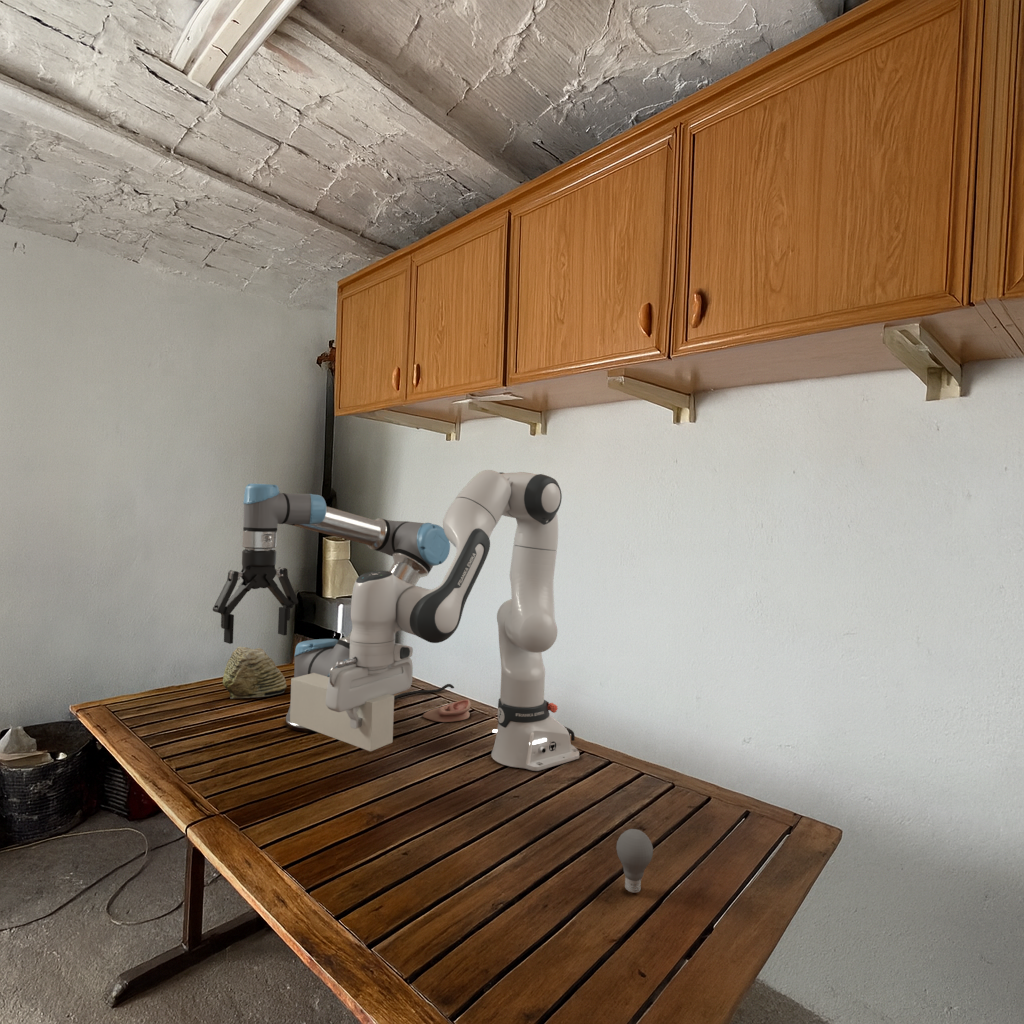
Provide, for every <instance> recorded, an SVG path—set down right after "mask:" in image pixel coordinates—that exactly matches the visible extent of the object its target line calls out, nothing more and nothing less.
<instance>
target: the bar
mask: <svg viewBox="0 0 1024 1024" xmlns="http://www.w3.org/2000/svg"><path fill="white" fill-rule="evenodd" d="M328 680H329V677H327V676H323V675H320V674H316V673H311V674H307V675H303V676H299V677H295V678H294V677H291V679H290V683H291V684H290V704H289V707H290V722H291V723H294V724H297V725H300V726H302V727H305V728H308V729H311V730H313V731H316V732H315V733H319V734H322V735H324V736H327V737H330V738H331V739H335V740H338V741H341V742H344V743H345V744H346V743H347V744H349V745H351V746H355V747H357V748H360V749H362V750H366V751H367V752H373V751H375V750H378V749H380V748H382V747H385V746H388V745H390V744H392V743H393V741H394V717H395V715H394V714H395V712H394V711H395V700H394V696H395V695H394V696H393V695H390V694H386V695H383V696H380V697H377V698H374V699H371V700H368V701H366V703H365V704H364V705H360V706H359V711H357V712H356V713H357V715H358V717H360V718H362V726H361V727H359V728H356V729H354V728H351V726H350V717H349V716H348V714H347V712H346V710H345V711H342V712H336V711H332V710H330V709H328V707H327V706H326V693H327V686H328Z"/></svg>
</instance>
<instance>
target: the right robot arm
mask: <svg viewBox="0 0 1024 1024" xmlns="http://www.w3.org/2000/svg"><path fill="white" fill-rule="evenodd" d="M562 496H563V495H562V491H561V487H560V485H559V483H558V481H557V480H556V479H555V478H553V477H551V476H550V475H545V474H544V473H541V474H540V473H538V474H536V473H533V472H524V471H517V472H498V471H496V470H493V469H484V470H481V471H479V472H478V473H476V474H475V475H474V476H473V477H472V478H471V479H470V480H469V481H468V483H467V484H465V486H464V487H463V488H462V489H461V490H460V492H458V494H457V496H456V497H455V498H454V499H453V502H452V503H451V504H450V505H449V506H448V508H447V510H446V512H445V514H444V517H443V519H442V528H443V529H444V532H445V535H446V537H447V538H448V540H449V543H450V544H452V545H453V546H454V547H455V548H456V553H455V555H454V558H453V560H452V562H451V564H450V566H449V568H448V569H447V572H446V573H445V575H444V577H443V580H442V581H441V582H440V584H439V585H438V586H436V587H433V588H432V589H430V588H426V587H422V586H418V585H415V586H414V585H412V584H409V583H406V582H404V581H402V580H400V579H399V578H397V577H396V576H394V574H393V573H392V572H389V570H373V571H368V572H364V573H363V574H361V575H359V576H358V577H357V578H356V580H355V581H354V584H353V588H352V592H351V593H352V594H351V602H350V621H351V626H352V627H351V630H352V632H351V631H350V632H351V635H350V654H349V659H347V660H344V661H338V662H336V665H334V666H333V667H332V669H331V670H330V675H329V680H328V686H327V693H326V706H327V707H328V709H330V710H332V711H336V712H342V711H345V710H346V712H347V714H348V716H349V717H350V726H351V728H354V729H356V728H359V727H361V726H362V718H360V717H358V715H357V713H356V712H357V711H359V706H360V705H364V704H365V703H366V701H368V700H371V699H374V698H377V697H380V696H383V695H386V694H390V695H393V696H395V695H398V694H401V693H404V692H405V691H408V690H410V688H411V686H412V685H413V675H414V673H413V668H414V667H413V666H414V664H413V659H412V658H411V657H412V656H413V653H414V649H413V647H412V646H410V645H406V644H403V643H399V642H396V634H397V632H400V631H402V632H404V633H407V634H410V635H414V636H415V637H418V638H420V639H422V640H424V641H426V642H428V643H431V644H439V643H442V642H445V641H446V640H448V639H449V638H451V636H453V634H455V632H456V631H457V629H458V627H459V625H460V622H461V619H462V617H463V611H464V608H465V605H466V602H467V600H468V597H469V596H470V594H471V591H472V589H473V587H474V585H475V584H476V582H477V579H478V577H479V576H480V573H481V571H482V569H483V566H484V564H485V562H486V560H487V558H488V556H489V552H490V548H491V540H490V537H491V535H492V533H493V531H494V530H495V528H496V526H497V525H498V523H499V522H500V520H501V518H502V516H503V517H506V518H507V517H508V518H513V519H515V520H516V523H517V525H516V529H515V533H514V538H513V546H512V553H511V560H510V561H511V562H510V569H509V580H510V590H511V593H510V595H511V599H510V598H509V599H507V600H505V601H504V602H502V604H501V605H500V606H499V607H498V610H497V613H496V622H497V629H498V646H499V657H500V693H499V699H498V700H497V701H498V702H497V729H492V733H496V735H495V740H494V744H493V748H492V749H491V753H490V756H491V758H492V760H494V761H495V762H496V763H498V764H501V765H503V766H506V767H511V768H519V769H526V770H529V771H533V772H540V771H542V770H547V769H549V768H552V767H556V766H559V765H563V764H565V763H568V762H569V763H570V762H572V761H576V760H578V759H580V751H579V749H578V748H577V747H576V746H575V745H574V744H572V743H571V742H574V741H575V737H576V736H575V733H574V732H575V731H573V730H572V729H571V728H569V727H567V726H565V725H563V724H562V723H561V722H559V721H558V720H557V719H555V718H554V717H553V715H551V714H550V712H551V713H552V714H553V713H554V714H556V712H557V711H558V709H559V708H558V705H557V704H555V703H554V702H549V701H547V700H545V686H546V668H545V665H544V661H543V655H542V653H543V652H547V651H548V650H549V649H551V648H552V647H553V645H555V642H556V641H557V638H558V627H557V623H556V617H555V595H554V593H555V592H554V579H555V569H556V563H557V562H556V560H557V554H558V545H559V518H558V511H559V509H560V508H561V505H562V499H563V497H562ZM335 667H336V668H335Z"/></svg>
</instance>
